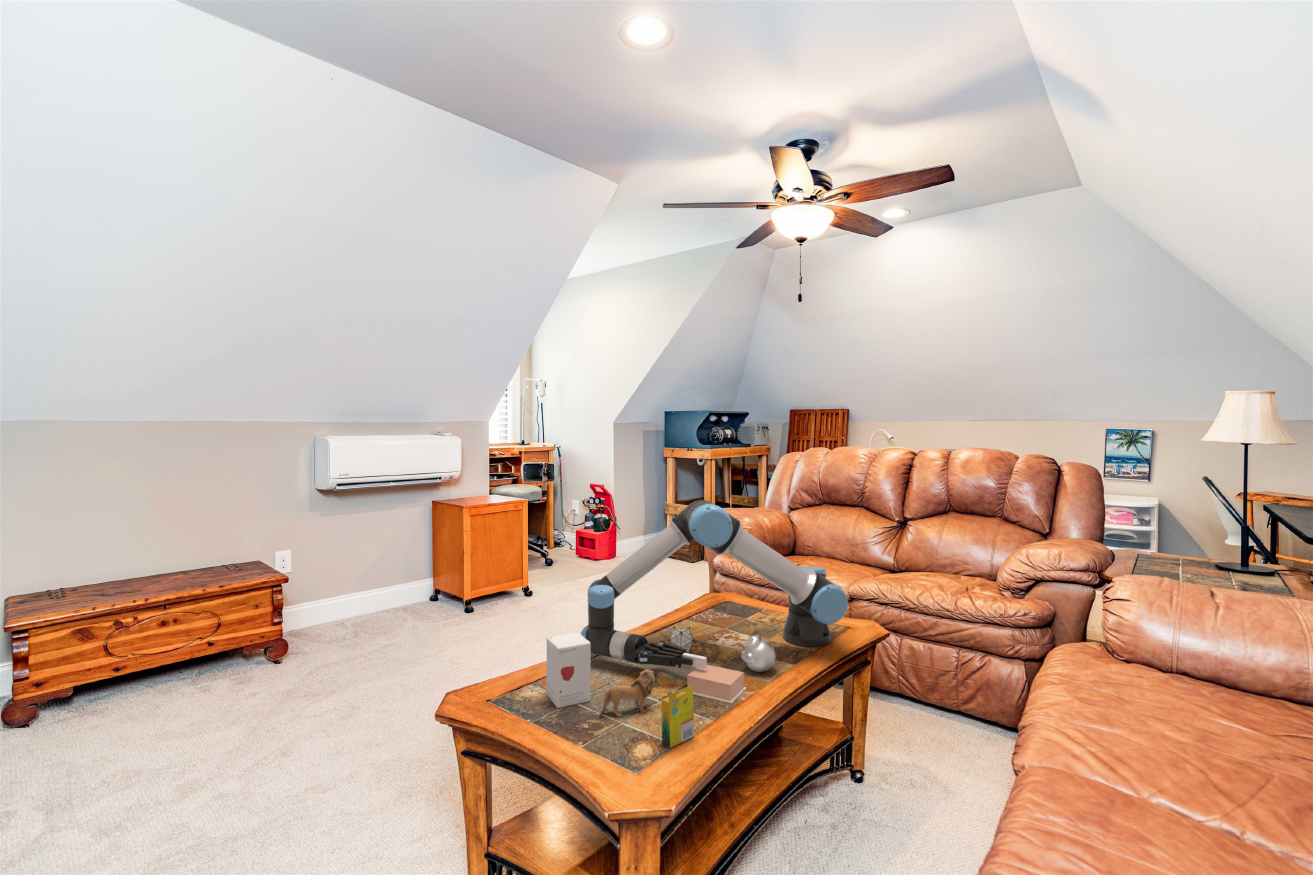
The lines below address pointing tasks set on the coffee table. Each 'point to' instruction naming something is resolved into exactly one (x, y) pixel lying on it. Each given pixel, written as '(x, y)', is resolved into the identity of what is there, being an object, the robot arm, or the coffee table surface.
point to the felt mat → (723, 699)
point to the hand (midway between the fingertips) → (705, 663)
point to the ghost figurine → (758, 654)
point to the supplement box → (568, 669)
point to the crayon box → (677, 717)
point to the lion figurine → (630, 692)
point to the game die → (682, 638)
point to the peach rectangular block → (716, 682)
